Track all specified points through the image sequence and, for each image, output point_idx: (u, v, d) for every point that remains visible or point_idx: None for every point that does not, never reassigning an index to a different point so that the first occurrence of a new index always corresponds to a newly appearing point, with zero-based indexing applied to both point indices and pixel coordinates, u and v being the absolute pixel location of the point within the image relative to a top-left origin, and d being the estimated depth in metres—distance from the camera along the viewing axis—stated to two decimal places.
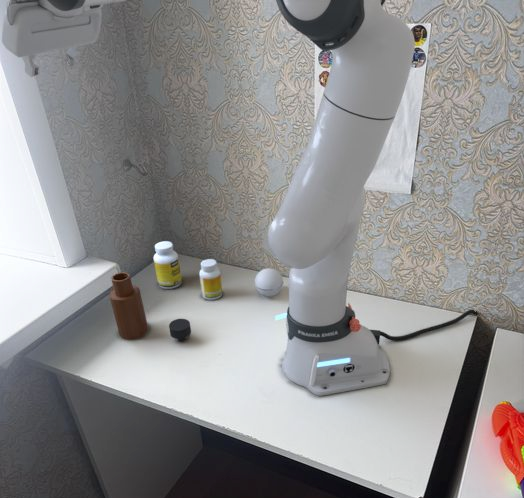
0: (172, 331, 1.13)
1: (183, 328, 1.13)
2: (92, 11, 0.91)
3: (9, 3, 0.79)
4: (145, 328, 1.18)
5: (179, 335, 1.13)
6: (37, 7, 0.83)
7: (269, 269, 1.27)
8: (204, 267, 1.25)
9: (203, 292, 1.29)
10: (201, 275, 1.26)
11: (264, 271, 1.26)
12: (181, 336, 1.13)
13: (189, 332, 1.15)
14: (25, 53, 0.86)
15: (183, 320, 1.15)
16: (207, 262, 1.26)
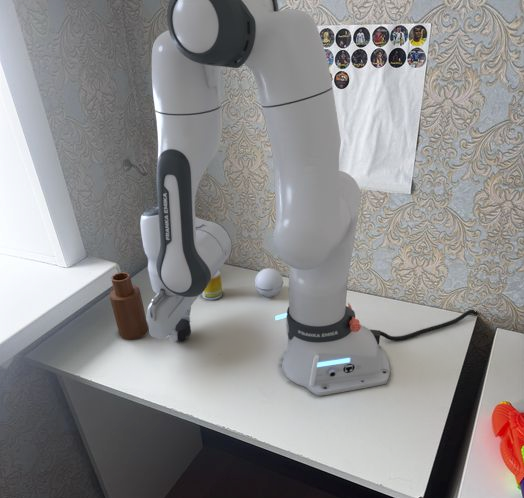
0: None
1: (183, 328, 1.13)
2: None
3: (150, 308, 1.00)
4: (145, 328, 1.18)
5: (179, 335, 1.13)
6: (165, 298, 1.04)
7: (269, 269, 1.27)
8: None
9: (203, 292, 1.29)
10: None
11: (264, 271, 1.26)
12: (181, 336, 1.13)
13: (189, 332, 1.15)
14: (168, 333, 1.06)
15: (183, 320, 1.15)
16: None
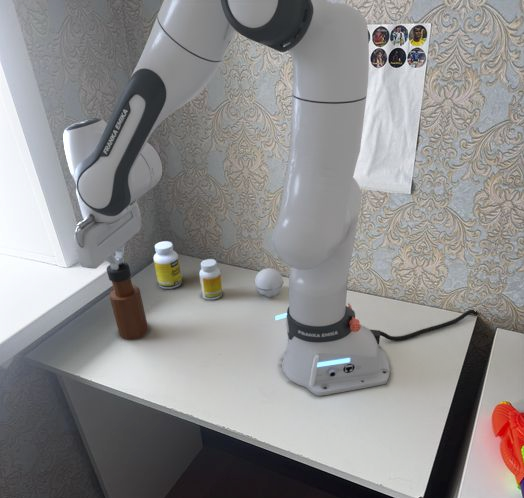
0: (109, 273, 1.08)
1: (121, 270, 1.08)
2: (132, 206, 1.06)
3: (76, 232, 0.94)
4: (145, 328, 1.18)
5: (117, 278, 1.08)
6: (95, 224, 0.98)
7: (269, 269, 1.27)
8: (204, 267, 1.25)
9: (203, 292, 1.29)
10: (201, 275, 1.26)
11: (264, 271, 1.26)
12: (119, 279, 1.09)
13: (128, 275, 1.10)
14: (99, 263, 1.00)
15: None
16: (207, 262, 1.26)
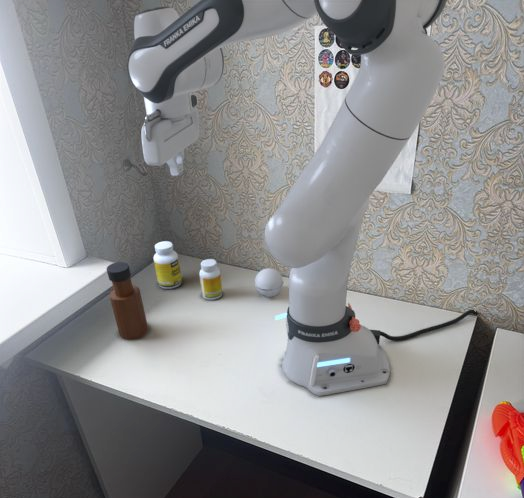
0: (109, 273, 1.08)
1: (121, 270, 1.08)
2: (193, 110, 1.06)
3: (145, 123, 0.94)
4: (145, 328, 1.18)
5: (117, 278, 1.08)
6: (161, 120, 0.98)
7: (269, 269, 1.27)
8: (204, 267, 1.25)
9: (203, 292, 1.29)
10: (201, 275, 1.26)
11: (264, 271, 1.26)
12: (119, 279, 1.09)
13: (128, 275, 1.10)
14: (164, 160, 0.99)
15: (122, 263, 1.11)
16: (207, 262, 1.26)
